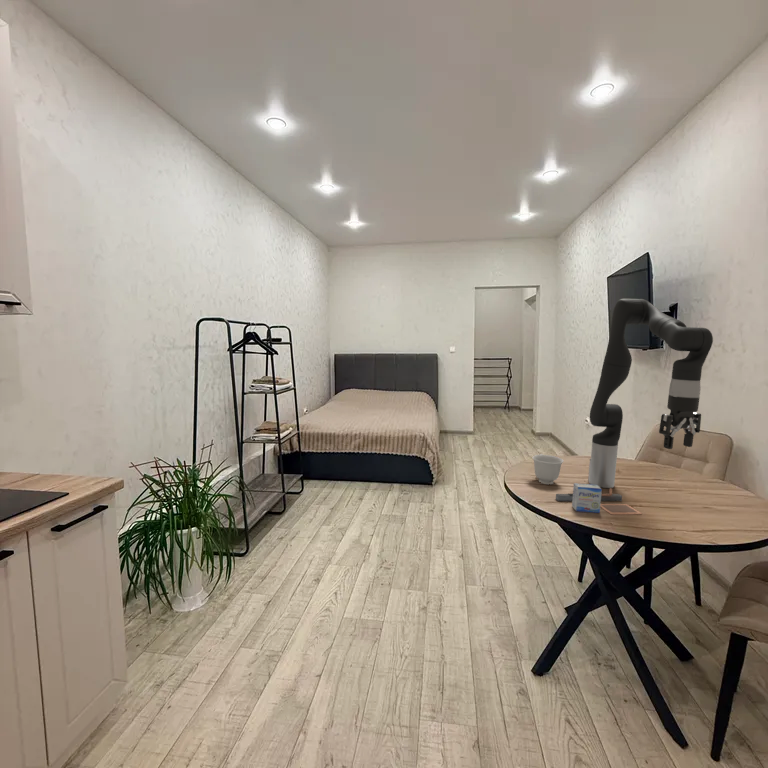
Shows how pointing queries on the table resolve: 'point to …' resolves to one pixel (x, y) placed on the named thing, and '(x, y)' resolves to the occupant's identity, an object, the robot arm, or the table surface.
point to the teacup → (547, 468)
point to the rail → (603, 497)
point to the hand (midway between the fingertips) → (677, 447)
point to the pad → (619, 509)
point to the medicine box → (586, 498)
